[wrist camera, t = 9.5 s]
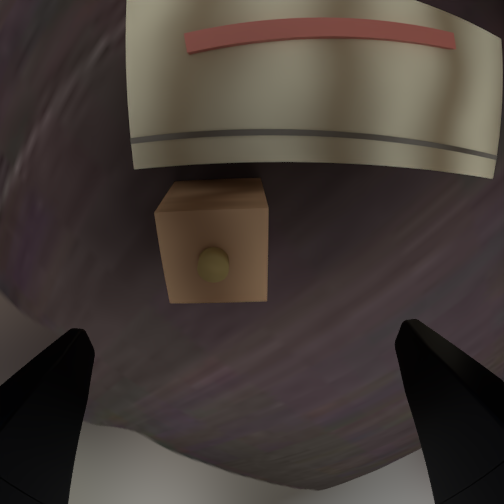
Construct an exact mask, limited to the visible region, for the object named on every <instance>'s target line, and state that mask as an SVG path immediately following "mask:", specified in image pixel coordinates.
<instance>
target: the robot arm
mask: <svg viewBox="0 0 504 504" xmlns="http://www.w3.org/2000/svg"><path fill="white" fill-rule="evenodd" d="M395 350H396V354H397V358H398V362H399V367H400V371H401V376H402V380H403V385H404V389H405V393H406V396H407V400H408V403H409V406H410V409H411V412H412V416H413V419H414V422H415V426H416V429H417V432H418V436H419V440H420V443H421V447H422V451H423V454H424V458H425V462H426V466H427V470H428V474H429V478H430V483H431V487H432V491H433V496H434V501H435V504H504V382H503V380H501V379H500V378H499V377H497V376H496V375H495V374H493V373H492V372H491V371H489V370H488V369H486V368H485V367H484V366H482V365H481V364H480V363H478V362H477V361H476V360H474V359H473V358H471V357H470V356H469V355H467V354H466V353H464V352H463V351H462V350H460V349H459V348H457V347H456V346H455V345H453V344H452V343H450V342H449V341H448V340H446V339H445V338H443V337H442V336H441V335H439V334H438V333H436V332H435V331H433V330H432V329H430V328H429V327H428V326H426V325H425V324H423V323H422V322H420V321H419V320H417V319H411V320H405V321H404V322H403V323H402V325H401V327H400V330H399V333H398V335H397V338H396V340H395ZM94 357H95V352H94V348H93V346H92V344H91V341H90V339H89V337H88V335H87V333H86V331H85V330H84V329H77V328H72V329H70V330H69V331H67V332H66V333H65V334H63V335H62V336H61V337H60V338H58V339H57V340H56V341H55V342H53V343H52V344H51V345H50V346H48V347H47V348H46V349H45V350H43V351H42V352H41V353H39V354H38V355H37V356H36V357H35V358H33V359H32V360H31V361H30V362H29V363H27V364H26V365H25V366H24V367H22V368H21V369H20V370H19V371H18V372H16V373H15V374H14V375H13V376H11V378H9V379H8V380H7V381H6V382H4V383H3V384H2V385H1V386H0V504H68V500H69V492H70V485H71V478H72V473H73V466H74V461H75V455H76V450H77V445H78V440H79V435H80V431H81V426H82V422H83V417H84V413H85V409H86V405H87V400H88V394H89V387H90V381H91V375H92V369H93V363H94Z"/></svg>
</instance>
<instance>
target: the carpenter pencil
mask: <svg viewBox="0 0 504 504" xmlns="http://www.w3.org/2000/svg"><path fill="white" fill-rule="evenodd" d="M184 38H185V44H186V49H187V53H188V54H189V55H190V54H195V53H199V52H204V51H209V50H215V49H220V48H226V47H232V46H239V45H246V44H254V43H262V42H272V41H284V40H299V39H367V40H382V41H394V42H403V43H411V44H419V45H425V46H432V47H437V48H443V49H448V50H451V49H456V44H455V38H454V33H452V32H448V31H443V30H439V29H434V28H429V27H424V26H418V25H412V24H405V23H398V22H390V21H381V20H371V19H357V18H327V17H317V18H287V19H273V20H262V21H253V22H245V23H237V24H230V25H224V26H218V27H213V28H207V29H202V30H197V31H193V32H188V33H184Z"/></svg>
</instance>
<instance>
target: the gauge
mask: <svg viewBox="0 0 504 504" xmlns="http://www.w3.org/2000/svg"><path fill="white" fill-rule="evenodd" d="M154 215H155V222H156V228H157V235H158V241H159V247H160V253H161V259H162V265H163V270H164V275H165V281H166V286H167V291H168V296H169V301H170V303H226V302H258V301H267V278H268V220H269V208H268V204H267V200H266V196H265V193H264V189H263V185H262V181H261V178H237V179H210V180H190V181H175V182H174V183H173V185H172V186H171V188H170V189H169V191H168V192H167V194H166V195H165V197H164V198H163V200H162V201H161V203H160V204H159V206H158V208H157V209H156V211H155V212H154Z"/></svg>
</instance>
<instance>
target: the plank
mask: <svg viewBox="0 0 504 504" xmlns="http://www.w3.org/2000/svg"><path fill="white" fill-rule="evenodd" d="M317 17H327V18H357V19H371V20H381V21H390V22H398V23H405V24H412V25H418V26H424V27H429V28H434V29H439V30H443V31H448V32H452V33H454V38H455V44H456V49H451V50H448V49H443V48H437V47H432V46H425V45H419V44H411V43H403V42H394V41H382V40H367V39H299V40H284V41H272V42H262V43H254V44H246V45H239V46H232V47H226V48H220V49H215V50H209V51H204V52H199V53H195V54H190V55H189V54H188V53H187V49H186V44H185V38H184V33H188V32H193V31H197V30H202V29H207V28H213V27H218V26H224V25H230V24H237V23H245V22H253V21H262V20H273V19H287V18H317ZM126 76H127V97H128V113H129V125H130V137H131V138H130V143H131V147H132V156H133V165H134V169H144V168H155V167H167V166H180V165H195V164H214V163H240V162H322V163H348V164H366V165H381V166H394V167H405V168H416V169H425V170H434V171H443V172H450V173H458V174H465V175H472V176H478V177H485V178H491V179H493V175H494V169H495V163H496V160H497V157H498V156H497V150H498V142H499V133H500V123H501V110H502V87H503V66H502V43H501V39H500V38H499V37H497V36H495V35H493V34H491V33H490V32H488V31H486V30H484V29H482V28H480V27H478V26H476V25H474V24H472V23H470V22H468V21H465V20H463V19H461V18H459V17H457V16H454V15H452V14H450V13H447V12H445V11H442V10H440V9H437V8H435V7H432V6H430V5H427V4H424V3H421V2H418V1H416V0H127V6H126Z"/></svg>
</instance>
